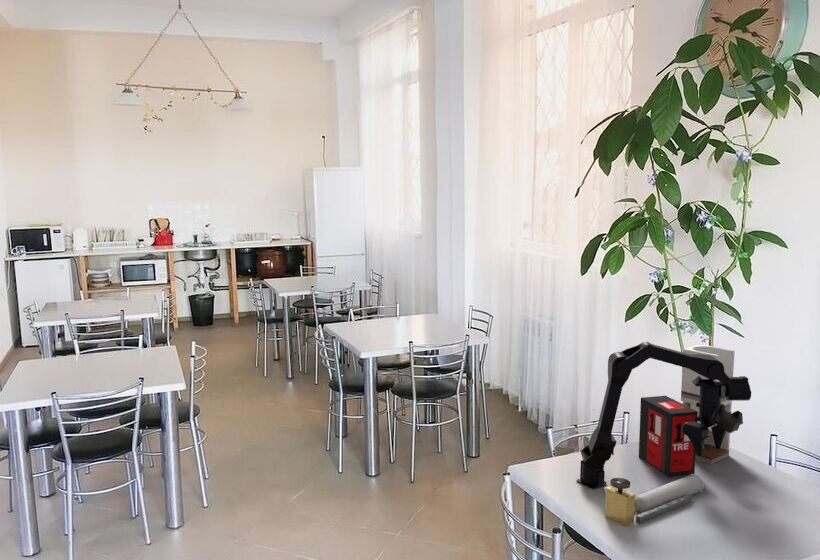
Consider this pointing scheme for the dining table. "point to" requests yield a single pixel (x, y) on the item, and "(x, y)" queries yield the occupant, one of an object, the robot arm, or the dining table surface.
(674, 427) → the cleaning product box
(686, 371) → the display case
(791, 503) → the dining table surface
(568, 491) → the dining table surface
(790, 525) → the dining table surface
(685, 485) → the tube
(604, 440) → the robot arm
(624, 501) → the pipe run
